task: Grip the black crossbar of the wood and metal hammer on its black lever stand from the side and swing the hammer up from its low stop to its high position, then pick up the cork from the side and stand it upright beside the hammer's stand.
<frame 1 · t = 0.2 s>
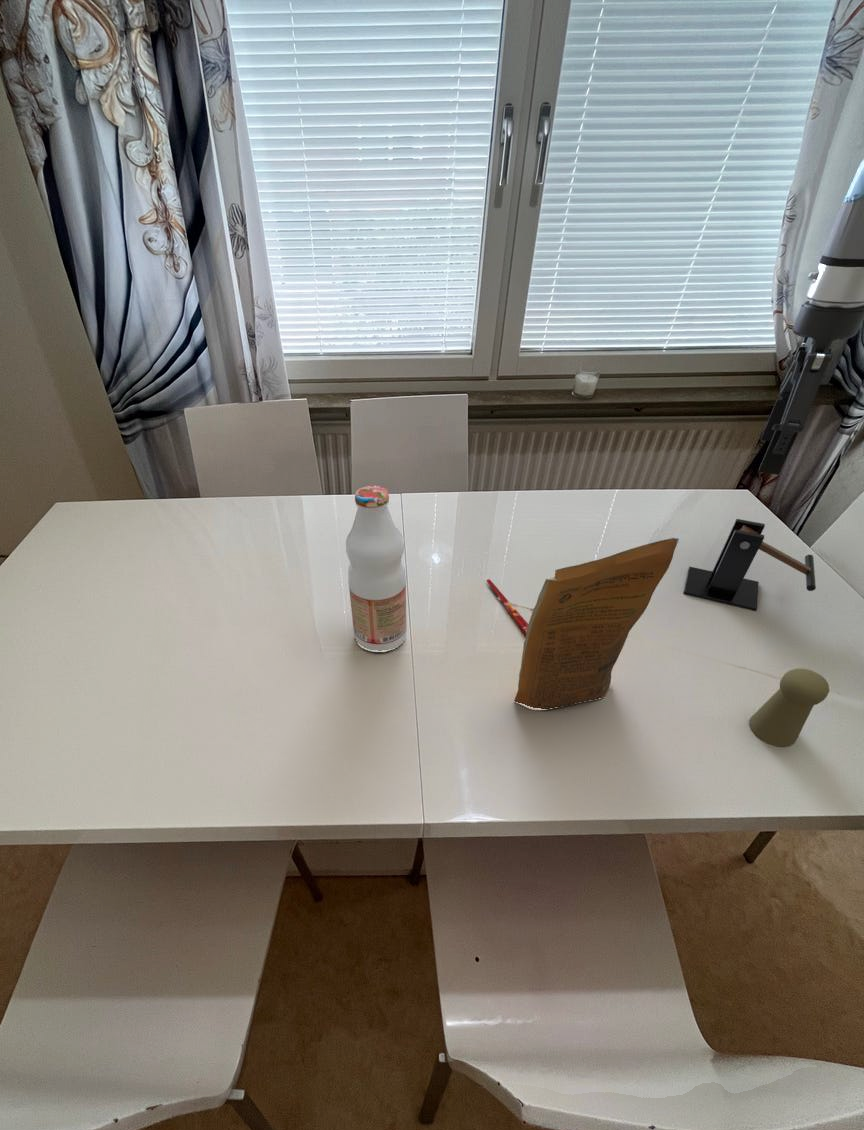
hand: (769, 455, 86), 25 cm above the table, tool pointing down, fingers open, 13 cm apart
wood and metal hammer: (775, 553, 92), point 10 cm above the table, hinge at -20.0°
cork: (771, 730, 77), on the table
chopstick: (515, 619, 97), on the table
pancake mix bag: (565, 698, 83), on the table
black lever stand: (719, 591, 101), on the table
fruit juice: (380, 637, 96), on the table
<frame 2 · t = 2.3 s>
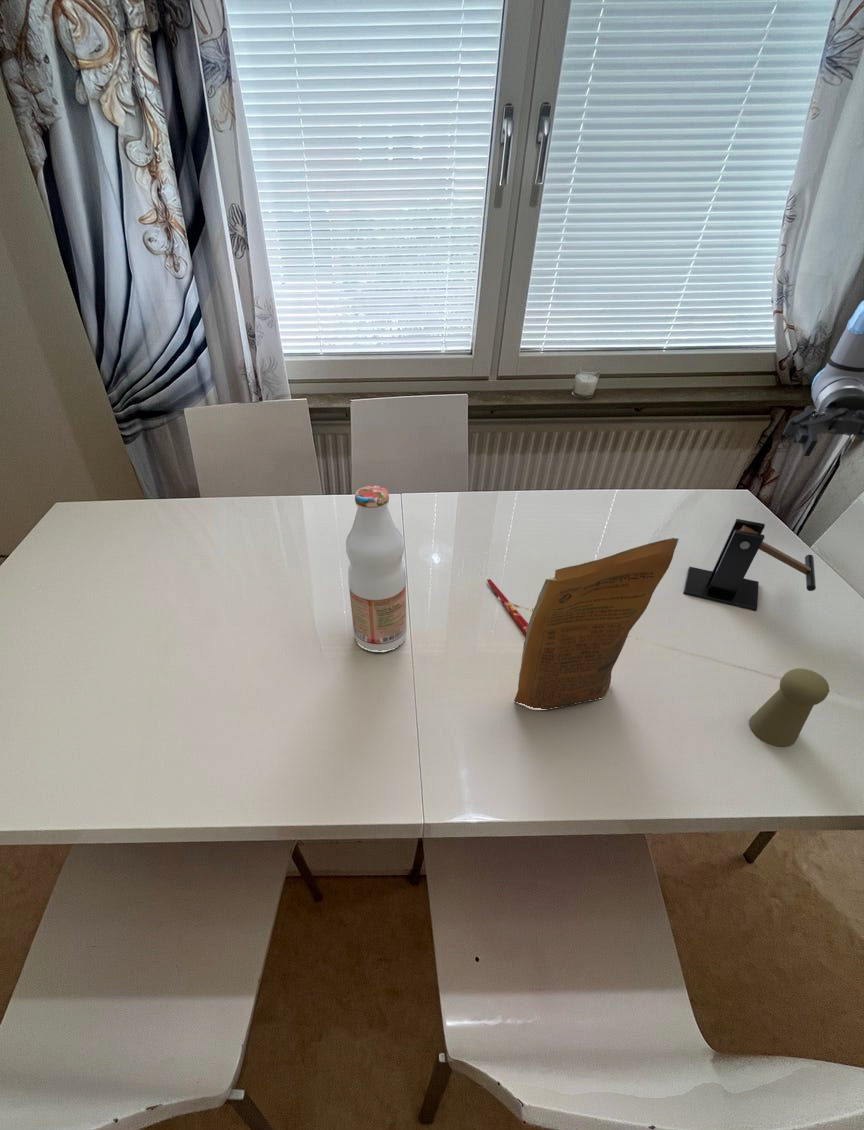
hand: (858, 455, 88), 24 cm above the table, tool horizontal, fingers open, 13 cm apart
nothing on the table moved.
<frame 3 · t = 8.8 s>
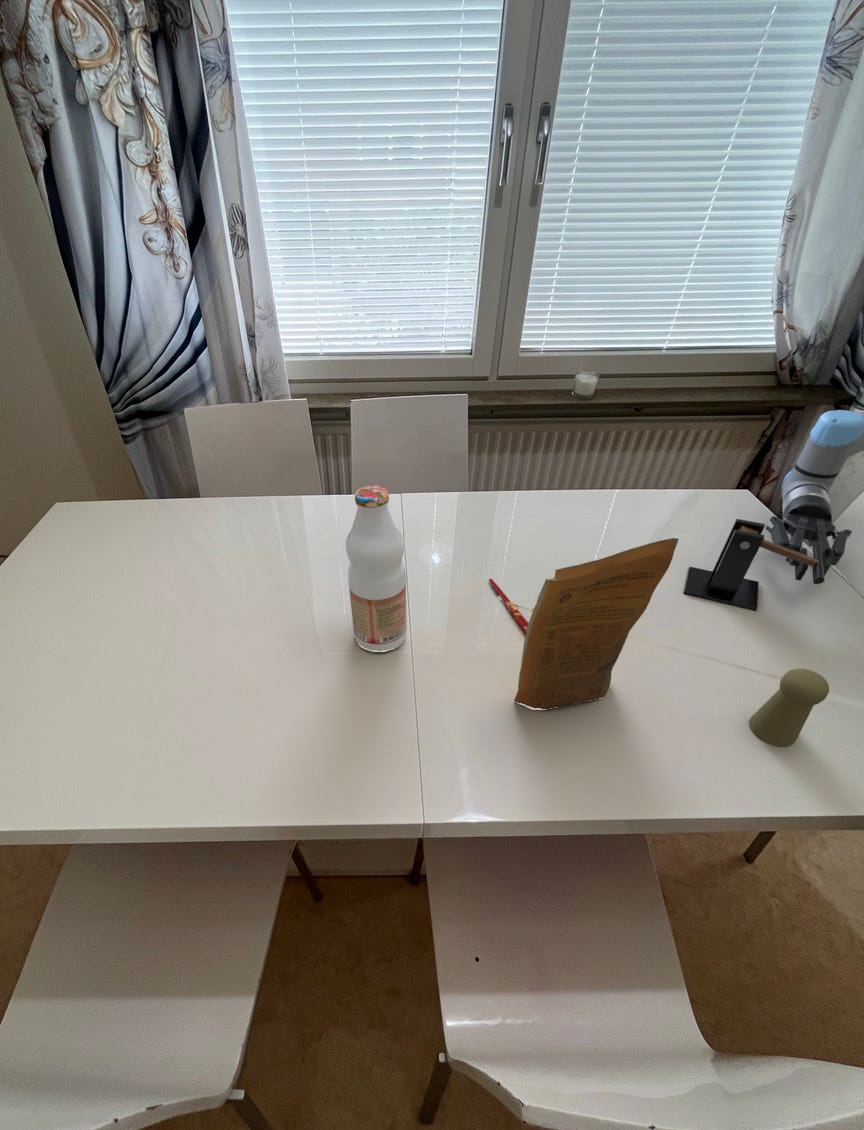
hand: (810, 575, 91), 8 cm above the table, tool horizontal, fingers closed on wood and metal hammer, 2 cm apart
wood and metal hammer: (779, 549, 91), point 11 cm above the table, hinge at -11.5°, touching gripper
everything else where it was.
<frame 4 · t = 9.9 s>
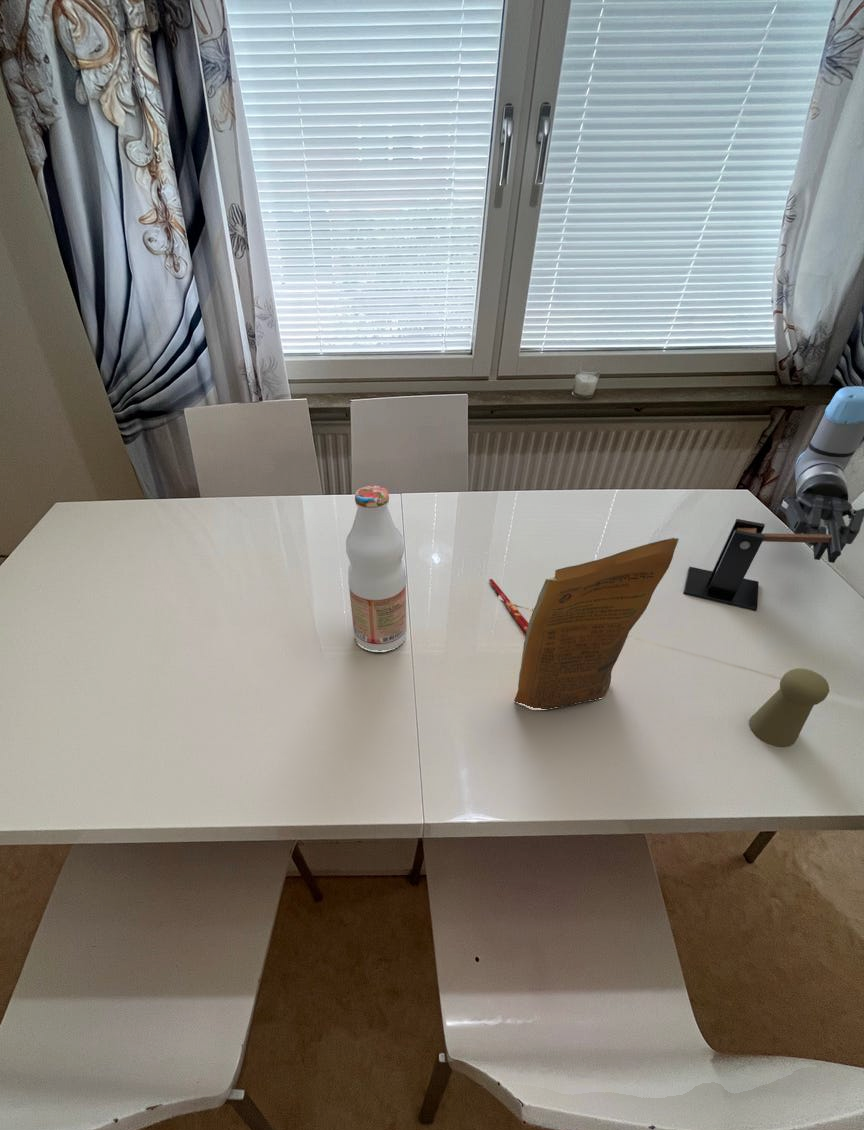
hand: (828, 554, 87), 12 cm above the table, tool horizontal, fingers closed
wood and metal hammer: (785, 537, 90), point 13 cm above the table, hinge at 12.9°, touching gripper
everything else where it was.
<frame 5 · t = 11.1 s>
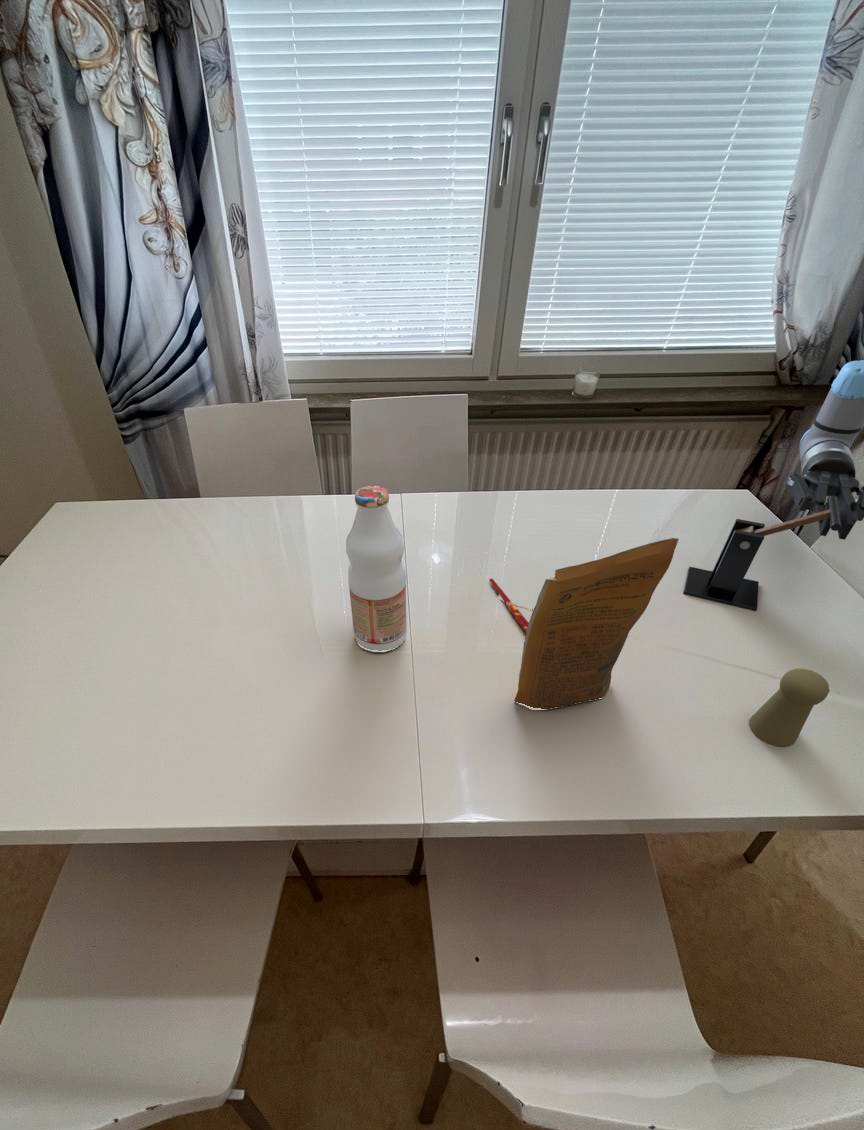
hand: (836, 530, 85), 17 cm above the table, tool horizontal, fingers closed
wood and metal hammer: (784, 526, 89), point 15 cm above the table, hinge at 35.6°, touching gripper
everything else where it was.
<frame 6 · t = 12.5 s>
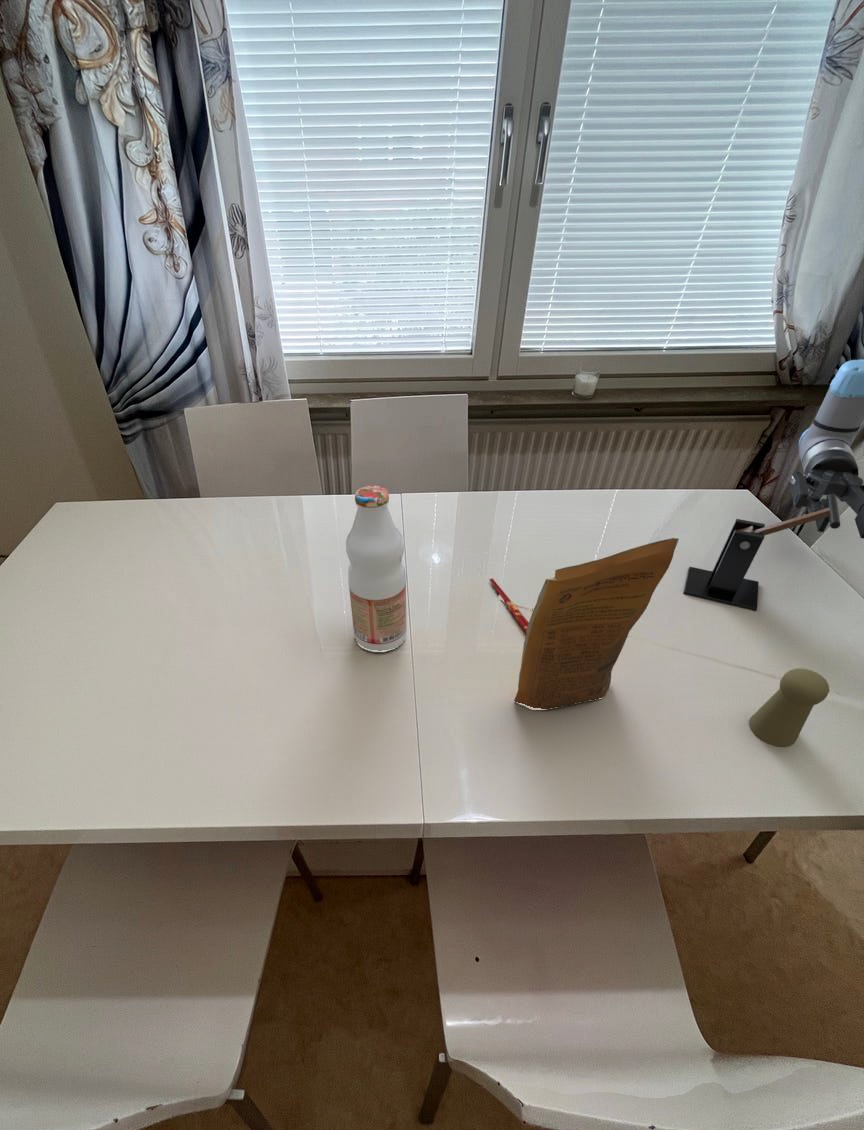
hand: (846, 527, 85), 17 cm above the table, tool horizontal, fingers open, 5 cm apart
wood and metal hammer: (784, 525, 89), point 15 cm above the table, hinge at 37.4°, touching gripper
everything else where it was.
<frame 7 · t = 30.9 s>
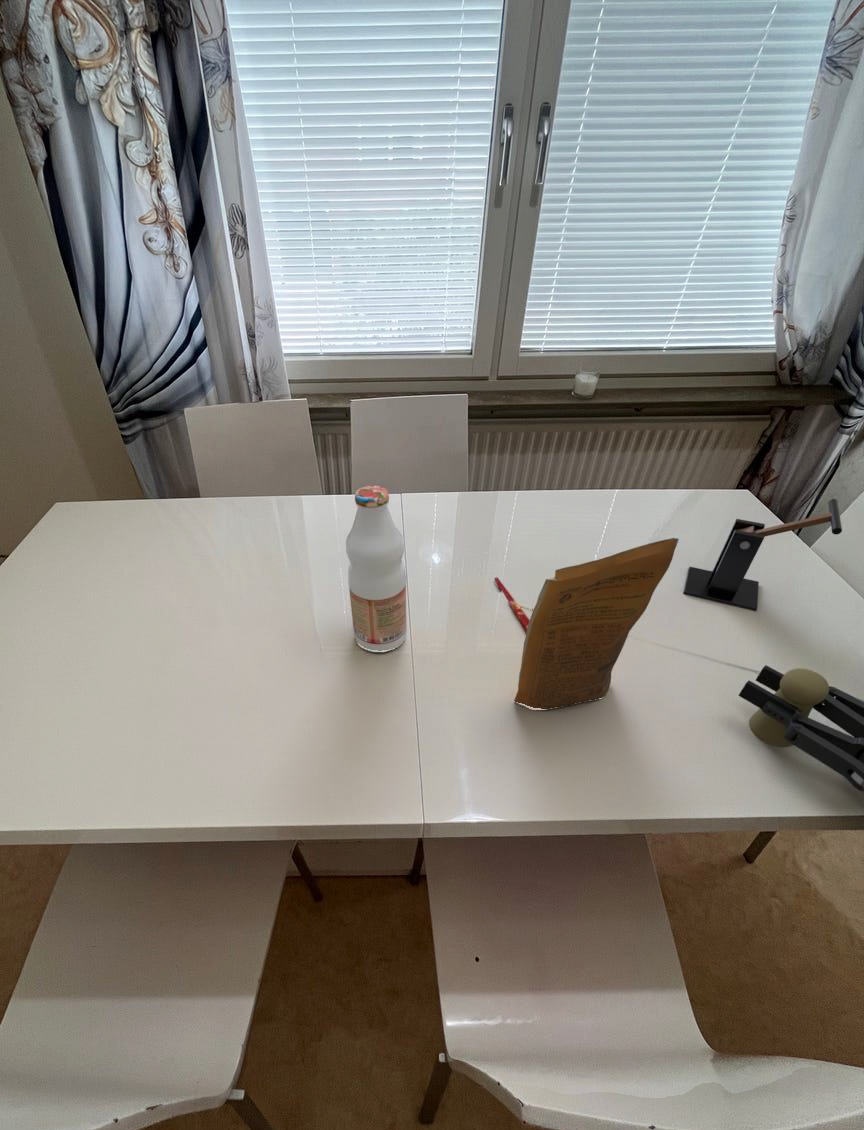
hand: (752, 680, 76), 6 cm above the table, tool horizontal, fingers closed on cork, 4 cm apart
wood and metal hammer: (785, 527, 89), point 15 cm above the table, hinge at 32.3°
cork: (771, 730, 77), on the table, touching gripper
when the fingers open (6 cm above the table, at t = 39.4 s): cork stays where it is, on the table.
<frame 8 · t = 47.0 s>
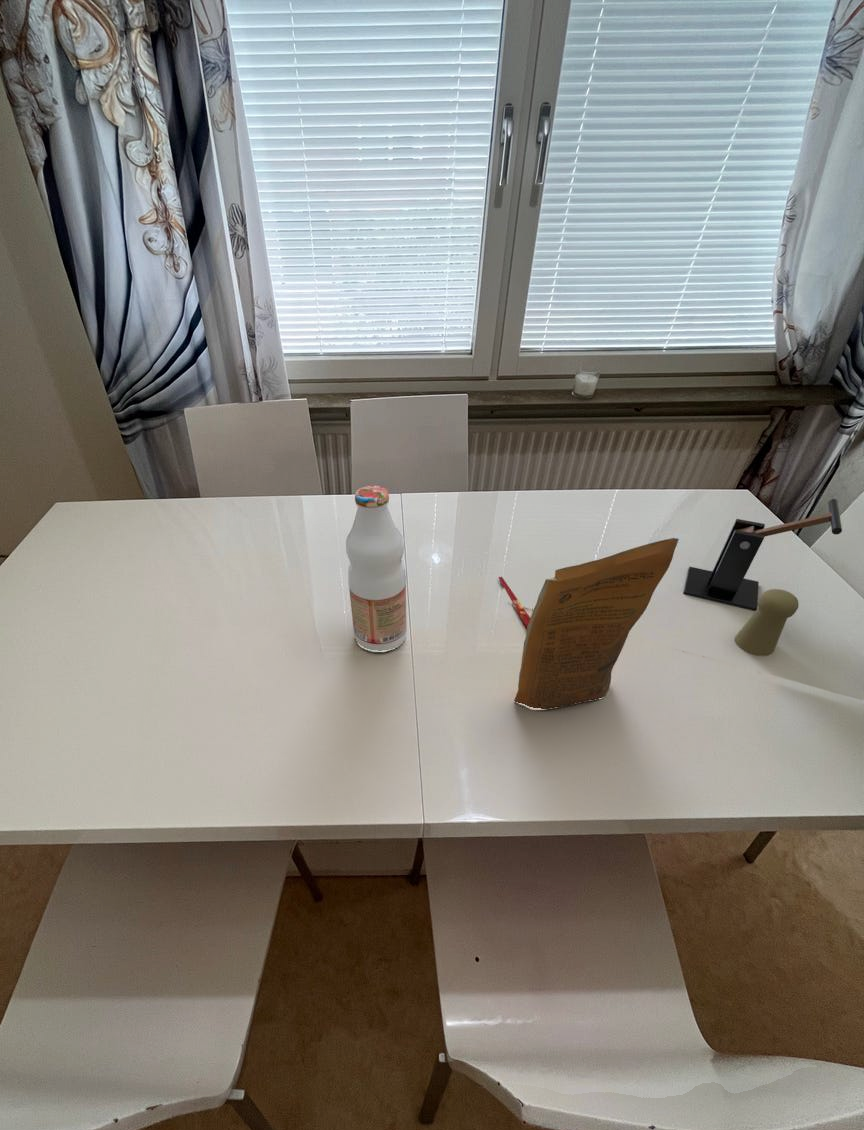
cork: (752, 647, 90), on the table
at the end: wood and metal hammer at +32° (first picture: -20°); cork inside the target area (0.0 cm from its centre), on the table; cork tilted 0° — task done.
